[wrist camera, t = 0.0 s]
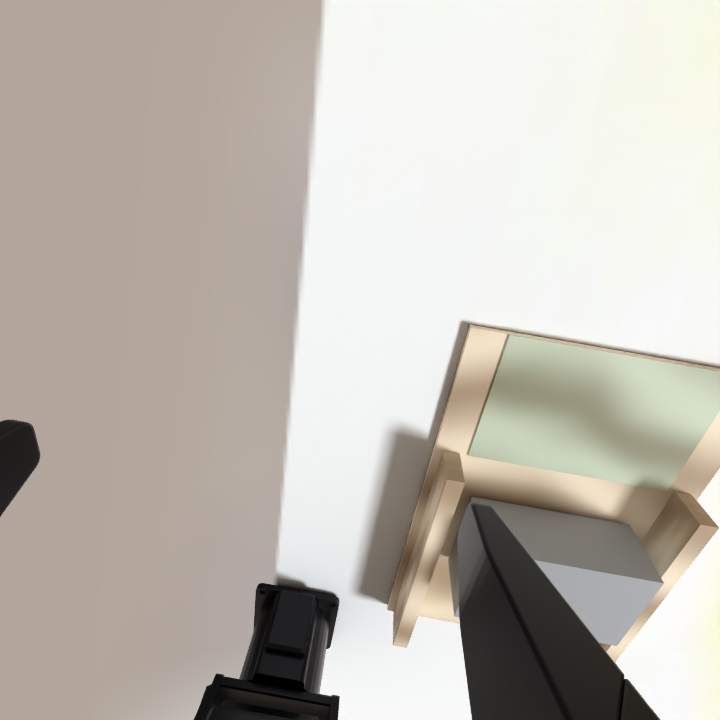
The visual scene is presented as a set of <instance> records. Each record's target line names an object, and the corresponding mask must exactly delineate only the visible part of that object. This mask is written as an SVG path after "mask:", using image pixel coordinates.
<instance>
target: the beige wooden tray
mask: <svg viewBox="0 0 720 720" xmlns="http://www.w3.org/2000/svg"><path fill="white" fill-rule="evenodd" d="M719 468H720V368H716V367H710V366H704V365H699V364H693V363H687V362H681V361H676V360H670V359H664V358H658V357H653V356H647V355H641V354H636V353H630V352H624V351H618V350H613V349H607V348H601V347H595V346H590V345H584V344H578V343H573V342H567V341H561V340H555V339H550V338H544V337H538V336H532V335H527V334H521V333H515V332H509V331H504V330H498V329H492V328H487V327H481V326H475V325H470V326H469V329H468V332H467V336H466V339H465V343H464V346H463V349H462V353H461V356H460V360H459V363H458V366H457V370H456V373H455V377H454V380H453V383H452V387H451V390H450V394H449V397H448V401H447V404H446V407H445V411H444V414H443V418H442V421H441V424H440V428H439V431H438V435H437V438H436V441H435V445H434V448H433V452H432V455H431V458H430V462H429V465H428V469H427V472H426V476H425V479H424V482H423V486H422V489H421V493H420V496H419V499H418V503H417V506H416V510H415V513H414V516H413V520H412V523H411V527H410V530H409V533H408V537H407V540H406V544H405V547H404V551H403V554H402V557H401V561H400V564H399V568H398V571H397V574H396V578H395V581H394V585H393V588H392V591H391V595H390V598H389V602H388V605H387V610H389V611H394V620H393V645H394V646H400V647H405V648H407V646H408V643H409V640H410V637H411V634H412V631H413V629H414V626H415V623H416V620H417V617H418V616H422V617H427V618H433V619H438V620H444V621H449V622H455V623H460V620H459V617H454V610H453V601H452V592H451V583H450V573H449V564H448V558H449V556H450V553H451V550H452V547H453V545H454V542H455V539H456V537H457V534H458V531H459V528H460V525H461V523H462V520H463V517H464V514H465V512H466V509H467V507H468V504H469V502H470V499H471V497H477V498H482V499H488V500H494V501H499V502H505V503H510V504H516V505H522V506H527V507H533V508H538V509H544V510H550V511H555V512H561V513H566V514H572V515H578V516H583V517H589V518H594V519H600V520H606V521H611V522H617V523H622V524H628V525H630V527H631V528H632V530H633V532H634V533H635V535H636V537H637V539H638V540H639V542H640V544H641V545H642V547H643V549H644V550H645V552H646V554H647V555H648V557H649V559H650V560H651V562H652V564H653V565H654V567H655V569H656V571H657V572H658V574H659V576H660V577H661V579H662V581H663V582H664V584H663V586H662V587H661V588H660V590H659V591H658V592H657V593H656V595H655V596H654V597H653V599H652V600H651V601H650V603H649V604H648V605H647V607H646V608H645V609H644V611H643V612H642V613H641V615H640V616H639V617H638V619H637V620H636V621H635V623H634V624H633V625H632V627H631V628H630V629H629V631H628V632H627V633H626V635H625V636H624V637H623V639H622V640H621V641H620V643H619V644H618V645H617V646H614V645H608V644H603V643H600V645H601V646H602V647H603V648H604V650H605V651H606V652H607V653H608V655H609V656H610V657H611V659H612V660H613V661H614V662H616V660H617V659H618V658H619V657H620V655H621V654H622V653H623V651H624V650H625V649H626V647H627V646H628V645H629V644H630V642H631V641H632V640H633V638H634V637H635V636H636V635H637V633H638V632H639V631H640V629H641V628H642V627H643V626H644V624H645V623H646V622H647V620H648V619H649V618H650V616H651V615H652V614H653V613H654V611H655V610H656V609H657V607H658V606H659V605H660V604H661V602H662V601H663V600H664V598H665V597H666V596H667V595H668V593H669V592H670V591H671V589H672V588H673V587H674V585H675V584H676V583H677V582H678V580H679V579H680V578H681V576H682V575H683V574H684V573H685V571H686V570H687V569H688V567H689V566H690V565H691V564H692V562H693V561H694V560H695V558H696V557H697V556H698V554H699V553H700V552H701V551H702V549H703V548H704V547H705V545H706V544H707V543H708V542H709V540H710V539H711V538H712V536H713V535H714V534H715V532H716V531H717V530H718V529H719V527H718V526H717V525H716V524H715V523H714V521H713V520H712V519H711V518H710V516H709V515H708V514H707V513H706V512H705V510H704V509H703V508H702V507H701V505H700V504H699V503H698V502H697V501H696V500H697V499H698V498H699V496H700V495H701V493H702V492H703V491H704V489H705V488H706V486H707V485H708V483H709V482H710V481H711V479H712V478H713V476H714V475H715V474H716V472H717V471H718V469H719Z"/></svg>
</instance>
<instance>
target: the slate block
mask: <svg viewBox="0 0 720 720" xmlns="http://www.w3.org/2000/svg"><path fill="white" fill-rule="evenodd" d="M471 502H476V503H482V504H487V505H490V506H491V507H492V508H493V509H494V510H495V511H496V512H497V514H498V515H499V516H500V518H501V519H502V520H503V521H504V523H505V524H506V525H507V526H508V528H509V529H510V530H511V531H512V533H513V534H514V535H515V537H516V538H517V539H518V540H519V542H520V543H521V544H522V545H523V547H524V548H525V549H526V551H527V552H528V553H529V554H530V556H531V557H532V558H533V559H534V561H535V562H536V563H537V565H538V566H539V567H540V568H541V570H542V571H543V572H544V573H545V575H546V576H547V577H548V578H549V580H550V581H551V582H552V584H553V585H554V586H555V587H556V589H557V590H558V591H559V592H560V594H561V595H562V596H563V598H564V599H565V600H566V601H567V603H568V604H569V605H570V606H571V608H572V609H573V610H574V612H575V613H576V614H577V615H578V617H579V618H580V619H581V620H582V622H583V623H584V624H585V625H586V627H587V628H588V629H589V631H590V632H591V633H592V634H593V636H594V637H595V638H596V639H597V641H598V642H599V643H603V644H608V645H614V646H617V645H618V644H619V643H620V641H621V640H622V639H623V637H624V636H625V635H626V633H627V632H628V631H629V629H630V628H631V627H632V625H633V624H634V623H635V621H636V620H637V619H638V617H639V616H640V615H641V613H642V612H643V611H644V609H645V608H646V607H647V605H648V604H649V603H650V601H651V600H652V599H653V597H654V596H655V595H656V593H657V592H658V591H659V590H660V588H661V587H662V586H663V584H664V582H663V581H662V579H661V577H660V576H659V574H658V572H657V571H656V569H655V567H654V565H653V564H652V562H651V560H650V559H649V557H648V555H647V554H646V552H645V550H644V549H643V547H642V545H641V544H640V542H639V540H638V539H637V537H636V535H635V533H634V532H633V530H632V528H631V527H630V525H628V524H622V523H617V522H611V521H606V520H600V519H594V518H589V517H583V516H578V515H572V514H566V513H561V512H555V511H550V510H544V509H538V508H533V507H527V506H522V505H516V504H510V503H505V502H499V501H494V500H488V499H482V498H477V497H471V499H470V502H469V504H470V503H471ZM469 504H468V505H469ZM458 532H459V531H458ZM457 539H458V534H457V537H456V539H455V542H454V545H453V547H452V550H451V553H450V556H449V558H448V564H449V573H450V583H451V592H452V601H453V610H454V617H459V591H458V546H457Z"/></svg>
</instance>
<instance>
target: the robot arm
mask: <svg viewBox="0 0 720 720" xmlns="http://www.w3.org/2000/svg"><path fill="white" fill-rule="evenodd" d="M39 459H40V451H39V447H38V443H37V439H36V435H35V431H34V428H33V426H32V425H31V424H30V423H27V422H22V421H17V420H5V421H1V422H0V516H1V515H2V513H3V512H4V511H5V509H6V508H7V506H8V505H9V504H10V502H11V501H12V500H13V498H14V497H15V495H16V494H17V492H18V491H19V490H20V489H21V487H22V486H23V484H24V483H25V482H26V480H27V479H28V477H29V476H30V475H31V473H32V472H33V471H34V469H35V468H36V466H37V465H38V462H39ZM457 546H458V591H459V620H460V629H461V637H462V645H463V653H464V660H465V668H466V676H467V683H468V691H469V699H470V707H471V714H472V720H660V719H659V717H658V716H657V715H656V714H655V713H654V711H653V710H652V709H651V708H650V706H649V705H648V704H647V703H646V701H645V700H644V699H643V698H642V696H641V695H640V694H639V693H638V691H637V690H636V689H635V687H634V686H633V685H632V684H631V682H630V681H629V680H628V679H624V674H623V672H622V671H621V670H620V669H619V667H618V666H617V665H616V664H615V662H614V661H613V660H612V659H611V657H610V656H609V655H608V653H607V652H606V651H605V650H604V648H603V647H602V646H601V645H600V643H599V642H598V641H597V639H596V638H595V637H594V636H593V634H592V633H591V632H590V631H589V629H588V628H587V627H586V625H585V624H584V623H583V622H582V620H581V619H580V618H579V617H578V615H577V614H576V613H575V612H574V610H573V609H572V608H571V606H570V605H569V604H568V603H567V601H566V600H565V599H564V598H563V596H562V595H561V594H560V592H559V591H558V590H557V589H556V587H555V586H554V585H553V584H552V582H551V581H550V580H549V578H548V577H547V576H546V575H545V573H544V572H543V571H542V570H541V568H540V567H539V566H538V565H537V563H536V562H535V561H534V559H533V558H532V557H531V556H530V554H529V553H528V552H527V551H526V549H525V548H524V547H523V545H522V544H521V543H520V542H519V540H518V539H517V538H516V537H515V535H514V534H513V533H512V531H511V530H510V529H509V528H508V526H507V525H506V524H505V523H504V521H503V520H502V519H501V518H500V516H499V515H498V514H497V512H496V511H495V510H494V509H493V508H492V507H491V506H490V505H487V504H482V503H476V502H471V503H470V504H469V505H468V507H467V509H466V512H465V514H464V517H463V520H462V523H461V525H460V528H459V532H458V539H457ZM338 607H339V598H337V597H335V596H331V595H326V594H320V593H315V592H309V591H304V590H298V589H293V588H287V587H281V586H276V585H270V584H264V583H261V584H259V585H258V587H257V589H256V599H255V616H254V633H253V636H252V639H251V643H250V646H249V649H248V652H247V655H246V659H245V662H244V665H243V669H242V672H241V675H240V679H235V678H229V677H224V675H222V674H216V675H215V678H214V680H213V682H212V684H211V685H209V686H207V687H206V690H205V693H204V695H203V698H202V701H201V704H200V706H199V709H198V711H197V714H196V716H195V718H194V720H338V709H339V697H340V696H336V695H332V696H327V695H322V694H319V692H320V686H321V679H322V672H323V666H324V659H325V652H326V649H328V648H330V646H331V641H332V636H333V631H334V626H335V622H336V617H337V612H338Z"/></svg>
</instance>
